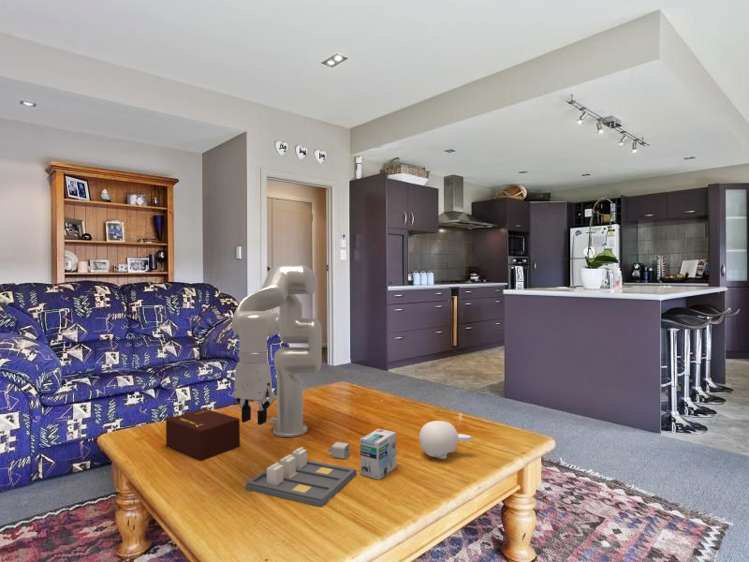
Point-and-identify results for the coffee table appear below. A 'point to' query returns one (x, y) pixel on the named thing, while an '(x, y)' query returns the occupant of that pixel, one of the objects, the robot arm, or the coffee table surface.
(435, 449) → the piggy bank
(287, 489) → the switch bank
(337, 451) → the usb wall charger
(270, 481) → the tab
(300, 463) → the tab
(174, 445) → the box
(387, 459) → the light bulb box
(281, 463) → the tab
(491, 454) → the coffee table surface
